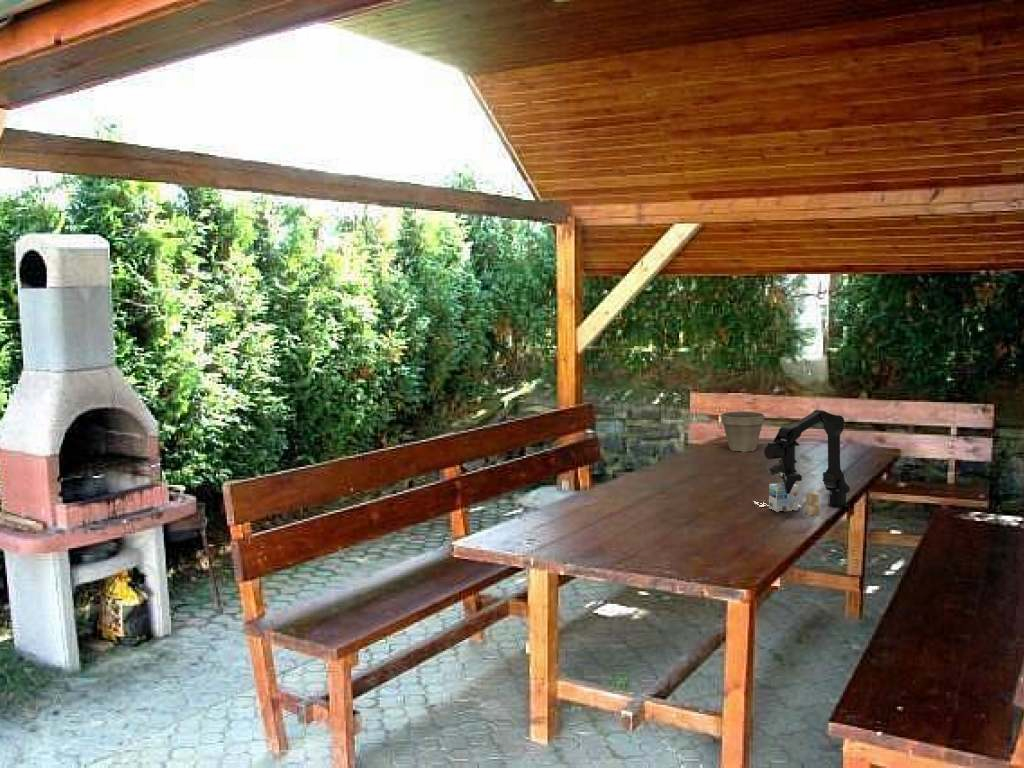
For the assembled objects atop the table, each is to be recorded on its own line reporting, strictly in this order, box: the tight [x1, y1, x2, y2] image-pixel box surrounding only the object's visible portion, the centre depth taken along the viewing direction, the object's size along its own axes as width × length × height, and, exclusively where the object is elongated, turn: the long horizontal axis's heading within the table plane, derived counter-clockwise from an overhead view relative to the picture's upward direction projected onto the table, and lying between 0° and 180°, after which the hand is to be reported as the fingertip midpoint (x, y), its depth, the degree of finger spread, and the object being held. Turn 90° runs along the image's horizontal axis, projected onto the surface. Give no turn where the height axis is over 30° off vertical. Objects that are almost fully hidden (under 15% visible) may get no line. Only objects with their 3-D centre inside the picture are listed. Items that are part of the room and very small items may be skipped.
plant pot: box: [720, 411, 765, 453], centre depth 534 cm, size 25×25×22 cm
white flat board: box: [752, 500, 803, 508], centre depth 394 cm, size 18×12×1 cm, turn 89°
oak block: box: [805, 491, 820, 516], centre depth 375 cm, size 4×4×9 cm
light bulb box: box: [768, 482, 800, 513], centre depth 384 cm, size 11×7×11 cm, turn 105°
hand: (787, 493), depth 378 cm, fingers closed
